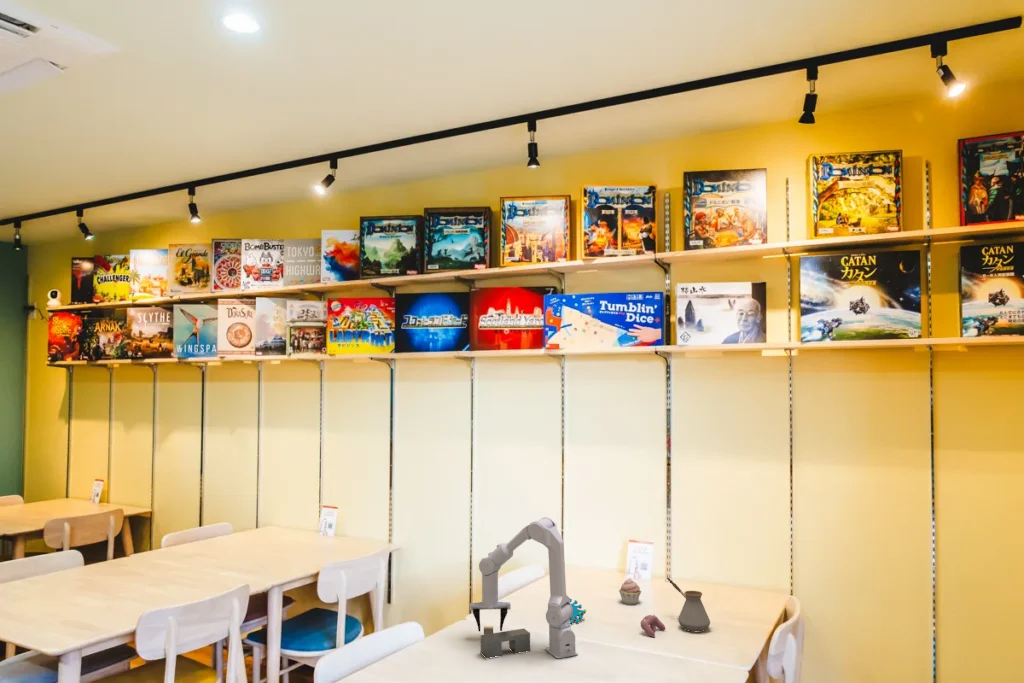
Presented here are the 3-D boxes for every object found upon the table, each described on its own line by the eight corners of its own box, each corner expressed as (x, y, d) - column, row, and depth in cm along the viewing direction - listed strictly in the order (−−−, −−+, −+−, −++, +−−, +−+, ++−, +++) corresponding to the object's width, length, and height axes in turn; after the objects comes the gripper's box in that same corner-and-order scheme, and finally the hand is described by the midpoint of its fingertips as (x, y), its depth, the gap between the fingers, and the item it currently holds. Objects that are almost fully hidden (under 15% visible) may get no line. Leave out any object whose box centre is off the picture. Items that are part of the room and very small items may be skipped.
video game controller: (657, 632, 251) (649, 613, 254) (667, 629, 249) (658, 610, 251) (644, 640, 244) (636, 621, 246) (654, 637, 241) (646, 617, 244)
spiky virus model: (559, 621, 256) (558, 596, 263) (555, 628, 259) (554, 604, 267) (587, 623, 257) (585, 599, 264) (584, 631, 260) (582, 606, 268)
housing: (530, 651, 230) (530, 633, 231) (486, 659, 224) (486, 640, 224) (524, 646, 235) (524, 628, 235) (480, 653, 229) (480, 635, 229)
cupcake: (643, 606, 277) (643, 581, 278) (620, 606, 278) (620, 581, 278) (639, 599, 287) (639, 575, 287) (617, 599, 287) (617, 575, 288)
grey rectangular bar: (493, 646, 235) (493, 637, 236) (483, 646, 235) (483, 637, 235) (493, 634, 246) (493, 626, 247) (483, 635, 246) (483, 626, 246)
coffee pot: (717, 631, 248) (716, 589, 249) (692, 636, 243) (691, 593, 244) (679, 614, 267) (678, 575, 268) (655, 618, 263) (654, 578, 264)
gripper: (469, 594, 239) (469, 634, 238) (510, 593, 240) (511, 633, 239) (469, 588, 246) (470, 627, 245) (509, 588, 247) (510, 626, 246)
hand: (490, 630), depth 242 cm, fingers open, 7 cm apart
